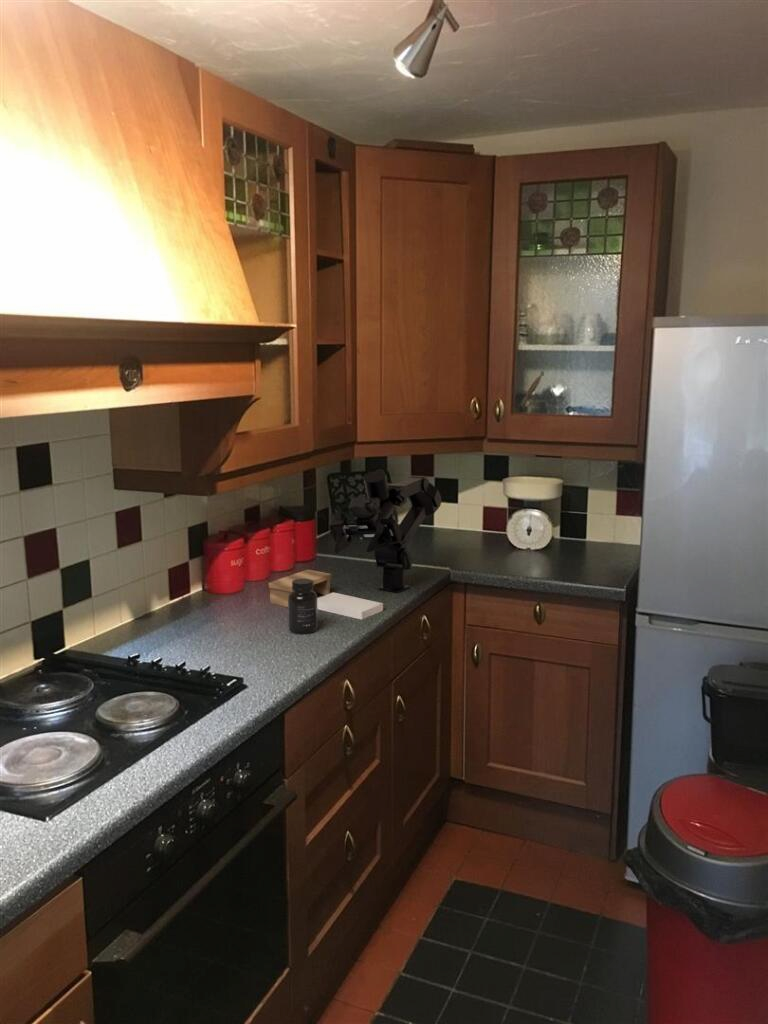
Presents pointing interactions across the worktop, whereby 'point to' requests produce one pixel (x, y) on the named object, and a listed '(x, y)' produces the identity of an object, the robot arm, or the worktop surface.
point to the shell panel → (348, 605)
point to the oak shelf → (284, 585)
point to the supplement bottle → (302, 607)
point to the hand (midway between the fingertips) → (351, 551)
